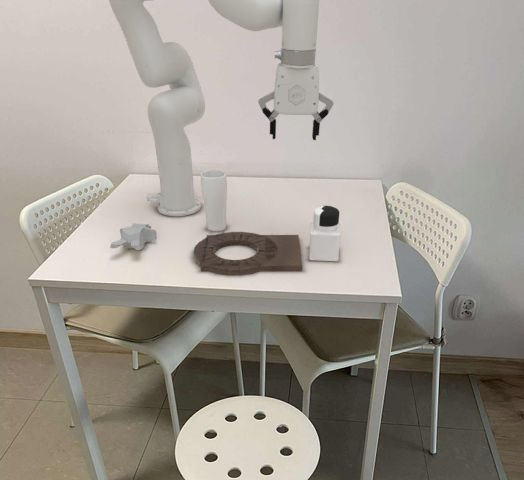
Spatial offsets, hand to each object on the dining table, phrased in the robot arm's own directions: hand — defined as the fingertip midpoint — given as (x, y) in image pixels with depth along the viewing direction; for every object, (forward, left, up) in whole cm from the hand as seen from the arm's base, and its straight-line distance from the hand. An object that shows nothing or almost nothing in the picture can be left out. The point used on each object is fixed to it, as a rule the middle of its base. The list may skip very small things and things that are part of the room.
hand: (294, 138), depth 129 cm
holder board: (-11, -12, -25) cm, 30 cm away
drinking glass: (-20, +4, -25) cm, 32 cm away
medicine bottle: (+8, -12, -25) cm, 29 cm away
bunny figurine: (-40, -7, -25) cm, 48 cm away
